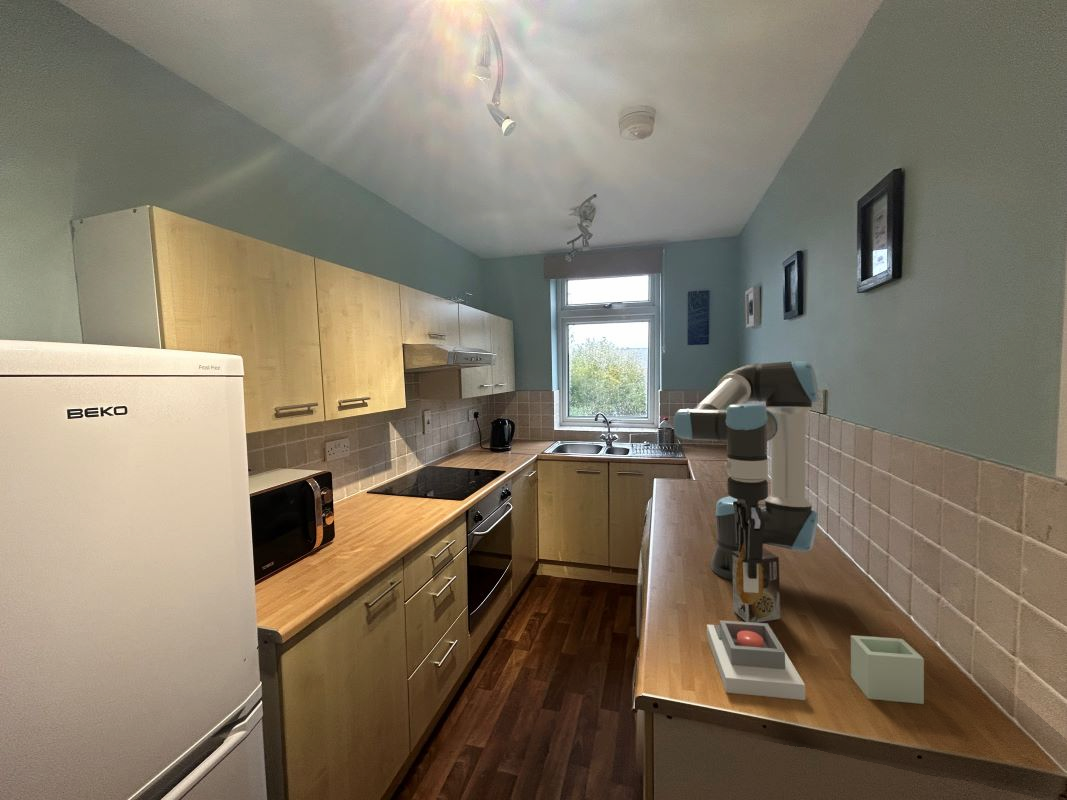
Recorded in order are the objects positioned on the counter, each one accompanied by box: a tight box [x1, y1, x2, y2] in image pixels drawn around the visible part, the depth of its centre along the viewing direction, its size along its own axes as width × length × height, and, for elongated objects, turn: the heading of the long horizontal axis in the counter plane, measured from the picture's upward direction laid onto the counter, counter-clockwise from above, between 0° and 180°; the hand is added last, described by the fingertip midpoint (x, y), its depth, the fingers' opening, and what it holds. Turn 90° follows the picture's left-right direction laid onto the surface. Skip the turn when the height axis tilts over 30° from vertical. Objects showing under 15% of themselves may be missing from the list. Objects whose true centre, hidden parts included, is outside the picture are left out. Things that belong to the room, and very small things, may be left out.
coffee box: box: [732, 547, 782, 623], centre depth 108 cm, size 9×6×16 cm
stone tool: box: [736, 543, 763, 604], centre depth 89 cm, size 5×2×15 cm, turn 80°
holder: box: [850, 634, 925, 705], centre depth 82 cm, size 6×9×9 cm, turn 79°
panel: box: [706, 619, 806, 701], centre depth 90 cm, size 18×14×6 cm
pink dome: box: [737, 631, 764, 648], centre depth 90 cm, size 5×5×3 cm
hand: (749, 588), depth 89 cm, fingers closed on stone tool, 2 cm apart
